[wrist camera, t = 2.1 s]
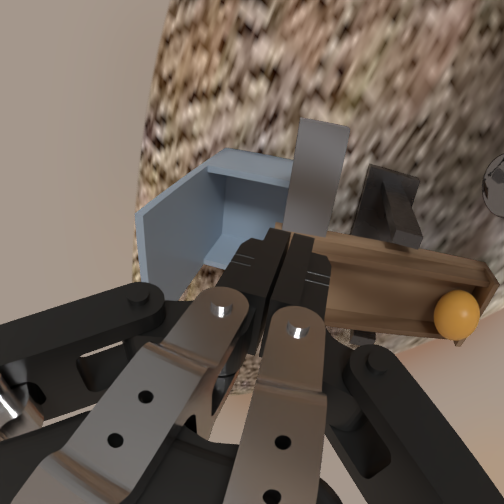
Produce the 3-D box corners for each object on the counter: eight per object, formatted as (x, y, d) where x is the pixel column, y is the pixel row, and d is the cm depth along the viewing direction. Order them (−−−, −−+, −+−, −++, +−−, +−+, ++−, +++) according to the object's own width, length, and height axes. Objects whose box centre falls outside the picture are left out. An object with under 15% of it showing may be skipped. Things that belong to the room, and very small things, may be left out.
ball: (439, 277, 22) (459, 312, 19) (475, 281, 22) (496, 314, 19) (419, 315, 24) (434, 351, 21) (455, 317, 24) (471, 350, 21)
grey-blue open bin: (225, 147, 31) (134, 213, 18) (326, 167, 30) (306, 254, 17) (219, 234, 37) (148, 330, 24) (307, 255, 35) (275, 371, 22)
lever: (292, 116, 19) (291, 124, 16) (519, 181, 18) (540, 197, 15) (262, 297, 27) (258, 323, 24) (451, 323, 26) (460, 346, 23)
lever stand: (369, 163, 28) (379, 210, 19) (418, 177, 27) (447, 229, 18) (338, 274, 36) (329, 346, 27) (379, 284, 35) (382, 358, 26)
